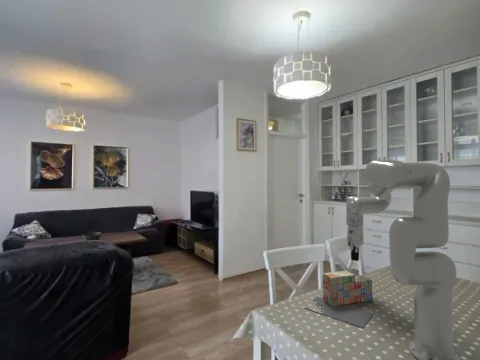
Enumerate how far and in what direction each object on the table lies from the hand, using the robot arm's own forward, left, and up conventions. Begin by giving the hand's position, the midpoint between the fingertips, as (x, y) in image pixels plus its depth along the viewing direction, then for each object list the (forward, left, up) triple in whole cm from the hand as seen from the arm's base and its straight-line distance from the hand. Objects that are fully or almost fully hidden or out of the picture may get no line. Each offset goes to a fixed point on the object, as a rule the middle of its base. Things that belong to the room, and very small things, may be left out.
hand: (354, 260), depth 127 cm
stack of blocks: (-11, 0, -16) cm, 19 cm away
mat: (-23, 0, -16) cm, 28 cm away
